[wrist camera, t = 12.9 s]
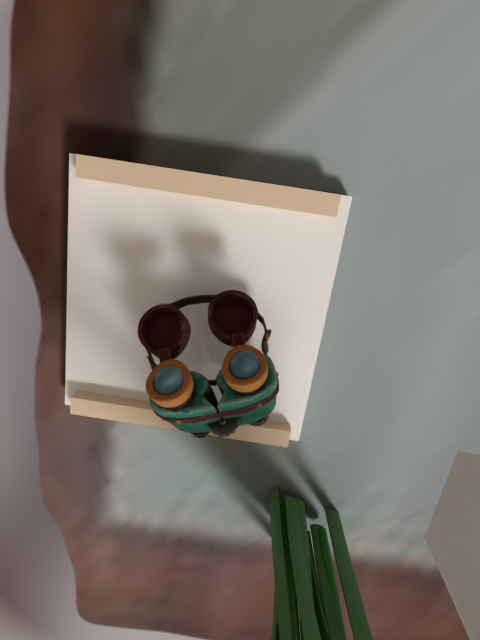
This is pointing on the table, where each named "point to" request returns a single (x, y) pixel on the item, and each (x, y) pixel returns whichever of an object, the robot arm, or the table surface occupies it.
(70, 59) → the table surface
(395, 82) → the table surface
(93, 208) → the display riser
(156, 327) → the binoculars
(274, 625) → the daffodil flowers
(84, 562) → the table surface
